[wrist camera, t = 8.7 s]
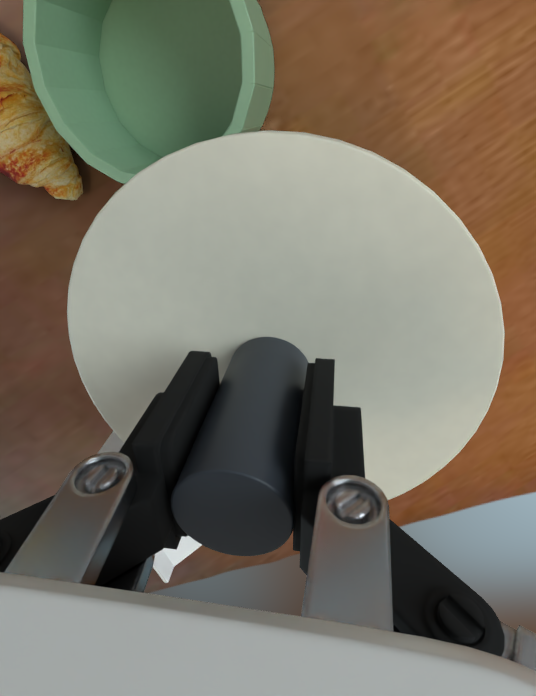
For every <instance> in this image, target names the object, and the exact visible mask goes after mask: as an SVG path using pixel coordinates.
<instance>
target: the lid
mask: <svg viewBox="0 0 536 696" xmlns="http://www.w3.org/2000/svg"><path fill="white" fill-rule="evenodd" d="M67 318H68V330H69V338H70V343H71V347H72V352H73V356H74V360H75V363H76V365H77V368H78V371H79V374H80V377H81V379H82V382H83V384H84V386H85V388H86V390H87V392H88V394H89V396H90V397H91V399H92V401H93V403H94V404H95V406H96V407H97V409H98V410H99V412H100V414H101V415H102V417H103V418H104V420H105V421H106V422H107V423H108V425H109V426H110V427H111V428H112V429H113V431H114V432H115V433H116V434H117V436H118V437H119V438H120V439H121V440H122V441H123V442H124V443H125V441H126V440H127V438H128V437H129V435H130V434H131V432H132V431H133V429H134V428H135V426H136V425H137V423H138V421H139V420H140V418H141V417H142V415H143V414H144V412H145V411H146V409H147V408H148V406H149V405H150V403H151V401H152V400H153V398H154V397H155V396H156V394H157V393H160V392H164V391H165V390H166V388H167V387H168V385H169V383H170V382H171V380H172V379H173V377H174V375H175V374H176V372H177V371H178V369H179V367H180V366H181V364H182V363H183V361H184V359H185V358H186V356H187V355H188V353H189V352H190V351H204V352H210V353H211V356H212V357H216V358H217V361H218V370H219V381H220V386H219V388H218V390H217V392H216V395H215V397H214V399H213V401H212V404H211V406H210V408H209V410H208V413H207V415H206V417H205V420H204V422H203V424H202V426H201V429H200V431H199V433H198V435H197V438H196V440H195V442H194V444H193V447H192V449H191V451H190V454H189V456H188V458H187V460H186V463H185V465H184V467H183V469H182V472H181V474H180V476H179V478H178V481H177V483H176V485H175V487H174V490H173V492H172V496H171V510H172V513H173V516H174V518H175V520H176V522H177V523H178V525H179V526H180V527H181V529H182V530H183V531H184V532H185V533H186V534H187V535H188V536H190V537H191V538H192V539H194V540H195V541H197V542H198V543H200V544H202V545H204V546H205V547H208V548H210V549H212V550H215V551H218V552H221V553H225V554H230V555H237V556H255V555H261V554H265V553H269V552H271V551H273V550H276V549H277V548H279V547H280V546H282V545H283V544H284V543H285V542H286V541H287V540H288V538H289V537H290V535H291V533H292V531H293V528H294V520H295V504H294V463H295V451H296V444H297V436H298V429H299V422H300V415H301V407H302V400H303V393H304V386H305V378H306V371H307V364H308V363H315V359H316V358H321V359H335V372H334V404H333V405H336V406H349V407H360V408H361V417H362V433H363V450H364V466H365V478H366V479H368V480H369V481H371V482H373V483H375V484H376V485H377V486H378V487H379V488H380V489H381V490H382V491H383V493H384V494H385V496H386V497H387V500H389V499H392V498H394V497H396V496H399V495H401V494H403V493H405V492H407V491H409V490H411V489H412V488H414V487H416V486H417V485H419V484H421V483H423V482H424V481H426V480H427V479H429V478H430V477H431V476H433V475H434V474H435V473H437V472H438V471H439V470H441V469H442V468H443V467H444V466H445V465H446V464H448V463H449V462H450V461H451V460H452V459H453V458H454V457H455V456H456V455H457V454H458V453H459V452H460V451H461V450H462V448H463V447H464V446H465V445H466V443H467V442H468V441H469V440H470V438H471V437H472V436H473V434H474V433H475V432H476V430H477V429H478V427H479V425H480V423H481V422H482V420H483V418H484V416H485V415H486V413H487V411H488V409H489V407H490V404H491V401H492V399H493V396H494V394H495V391H496V389H497V386H498V381H499V376H500V372H501V367H502V363H503V352H504V333H505V332H504V324H503V315H502V306H501V301H500V298H499V295H498V291H497V288H496V284H495V281H494V277H493V274H492V272H491V270H490V268H489V266H488V264H487V262H486V260H485V258H484V255H483V253H482V251H481V249H480V247H479V245H478V244H477V243H476V241H475V240H474V238H473V237H472V235H471V234H470V232H469V231H468V230H467V228H466V227H465V225H464V224H463V222H462V221H461V220H460V218H459V217H458V216H457V215H456V214H455V213H454V212H453V211H452V210H451V209H450V208H449V207H448V206H447V205H446V204H445V203H444V202H443V201H442V200H441V199H440V198H439V196H438V195H437V194H436V193H434V192H433V191H432V190H431V189H430V188H428V187H427V186H426V185H425V184H423V183H422V182H421V181H419V180H418V179H417V178H415V177H414V176H413V175H411V174H410V173H409V172H407V171H406V170H405V169H403V168H401V167H400V166H398V165H396V164H394V163H392V162H390V161H389V160H387V159H385V158H383V157H381V156H379V155H378V154H376V153H374V152H372V151H369V150H366V149H363V148H361V147H358V146H355V145H353V144H350V143H347V142H344V141H342V140H339V139H334V138H329V137H324V136H319V135H315V134H310V133H305V132H289V131H272V130H267V131H256V132H245V133H234V134H230V135H226V136H222V137H218V138H214V139H210V140H206V141H202V142H198V143H195V144H192V145H190V146H187V147H185V148H183V149H180V150H178V151H176V152H173V153H171V154H168V155H166V156H164V157H162V158H161V159H159V160H158V161H156V162H154V163H153V164H151V165H150V166H148V167H146V168H145V169H143V170H142V171H140V172H138V173H137V174H136V175H135V176H134V177H133V178H131V179H130V180H129V181H128V182H127V183H126V184H125V185H123V186H122V187H121V188H120V189H119V190H118V191H116V192H115V194H114V195H113V196H112V197H111V198H110V200H109V201H108V202H107V203H106V204H105V206H104V207H103V208H102V209H101V210H100V212H99V213H98V214H97V216H96V217H95V219H94V221H93V222H92V224H91V226H90V228H89V229H88V231H87V233H86V234H85V236H84V238H83V240H82V243H81V246H80V248H79V251H78V253H77V256H76V259H75V261H74V265H73V269H72V274H71V279H70V283H69V288H68V305H67Z"/></svg>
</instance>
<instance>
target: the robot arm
mask: <svg viewBox="0 0 536 696" xmlns="http://www.w3.org/2000/svg"><path fill="white" fill-rule="evenodd" d="M334 372H335V359H321V358H316V359H315V363H308V364H307V371H306V378H305V386H304V393H303V400H302V407H301V415H300V422H299V429H298V436H297V444H296V451H295V463H294V504H295V520H294V528H293V550H294V551H300V568H301V569H302V570H303V571H304V573H305V574H306V575H307V579H306V586H305V593H304V600H303V607H302V614H301V617H300V616H293V615H287V614H280V613H274V612H267V611H261V610H254V609H248V608H241V607H235V606H228V605H221V604H215V603H208V602H202V601H195V600H188V599H182V598H174V597H168V596H161V595H155V594H148V593H144V590H145V587H146V584H147V581H148V578H149V575H150V573H151V570H152V567H153V564H154V558H155V554H156V553H158V552H159V551H161V550H163V548H168V549H176V550H177V548H178V545H179V542H180V540H181V537H182V536H183V537H187V536H188V535H187V534H186V533H185V532H184V531H183V530H182V529H181V527H180V526H179V525H178V523H177V522H176V520H175V518H174V516H173V513H172V510H171V496H172V492H173V490H174V487H175V485H176V483H177V481H178V478H179V476H180V474H181V472H182V469H183V467H184V465H185V463H186V460H187V458H188V456H189V454H190V451H191V449H192V447H193V444H194V442H195V440H196V438H197V435H198V433H199V431H200V429H201V426H202V424H203V422H204V420H205V417H206V415H207V413H208V410H209V408H210V406H211V404H212V401H213V399H214V397H215V395H216V392H217V390H218V388H219V386H220V381H219V370H218V361H217V358H216V357H212V356H211V353H210V352H204V351H190V352H189V353H188V355H187V356H186V358H185V359H184V361H183V363H182V364H181V366H180V367H179V369H178V371H177V372H176V374H175V375H174V377H173V379H172V380H171V382H170V383H169V385H168V387H167V388H166V390H165V391H164V392H160V393H157V394H156V396H155V397H154V398H153V400H152V401H151V403H150V405H149V406H148V408H147V409H146V411H145V412H144V414H143V415H142V417H141V418H140V420H139V421H138V423H137V425H136V426H135V428H134V429H133V431H132V432H131V434H130V435H129V437H128V438H127V440H126V441H125V443H124V445H123V446H122V448H121V449H120V451H119V452H103V453H99V454H95V455H93V456H90V457H88V458H86V459H84V460H83V461H82V462H80V463H79V464H77V465H76V466H75V467H74V469H73V470H72V471H71V472H70V473H69V475H68V476H67V478H66V479H65V481H64V482H63V484H62V485H61V487H60V488H59V490H58V492H57V493H56V495H54V496H52V497H50V498H47V499H45V500H43V501H41V502H39V503H36V504H34V505H32V506H30V507H28V508H25V509H23V510H21V511H19V512H17V513H14V514H12V515H10V516H8V517H6V518H4V519H1V520H0V696H536V634H535V633H533V632H531V631H529V630H527V629H525V628H524V627H522V626H520V625H519V627H518V629H517V630H515V629H514V628H512V627H510V626H508V625H506V624H504V623H503V622H501V621H499V619H498V617H497V616H496V614H495V612H494V611H493V609H492V608H491V607H490V606H489V605H488V604H487V603H486V602H485V600H484V599H482V597H480V596H479V595H478V594H477V593H476V592H475V591H473V590H472V589H471V588H470V587H469V586H468V585H466V584H465V583H464V582H463V581H462V580H460V579H459V578H458V577H457V576H456V575H454V574H453V573H452V572H451V571H450V570H449V569H448V568H446V567H445V566H444V565H443V564H442V563H441V562H439V561H438V560H437V559H436V558H434V557H433V556H432V555H431V554H430V553H429V552H427V551H426V550H425V549H424V548H423V547H422V546H421V545H419V544H418V543H417V542H416V541H414V540H413V539H412V538H411V537H410V536H409V535H408V534H406V533H405V532H404V531H403V530H402V529H401V528H399V527H398V526H397V525H396V524H395V523H394V522H392V521H391V520H390V519H389V505H388V501H387V497H386V496H385V494H384V493H383V491H382V490H381V489H380V488H379V487H378V486H377V485H376V484H375V483H373V482H371V481H369V480H368V479H366V478H365V466H364V450H363V433H362V417H361V408H360V407H349V406H336V405H333V404H334Z"/></svg>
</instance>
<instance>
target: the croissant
mask: <svg viewBox="0 0 536 696" xmlns="http://www.w3.org/2000/svg"><path fill="white" fill-rule="evenodd" d="M20 59H21V54H20V51H19V49H18V48H17V46H16V45H15V44H14V43H13V42H12V41H11V40H10V39H8V38H7V37H5V36H4V35H2V34H1V33H0V172H1V173H3V174H4V175H6V176H7V177H9V178H10V179H11V180H13V181H14V182H16V183H18V184H24V185H26V184H29V185H31V186H34V187H41V186H44V188H45V189H46V190H47V192H48V193H49V194H51V195H52V196H54V197H55V198H56V199H67V200H68V199H69V200H77V198H78V197H80V195H81V194H83V185H82V178H81V176H80V175H79V173H78V168H77V165H75V164H74V160H73V157H72V154H71V151H70V147H69V144H68V143H67V142H66V140H65V139H64V138H63V137H62V136H61V135H60V134H59V133H58V131H56V129H55V127H54V125H53V123H52V121H51V120H50V118H49V116H48V114H47V112H46V110H45V108H44V106H43V105H42V103H41V101H40V99H39V97H38V95H37V93H36V92H35V89H34V85H33V81H32V77H31V74H30V73H29V72H28V70H27V69H26V67H25V66H24V65H23V64H22V63H21V62H20V61H19V60H20Z"/></svg>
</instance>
